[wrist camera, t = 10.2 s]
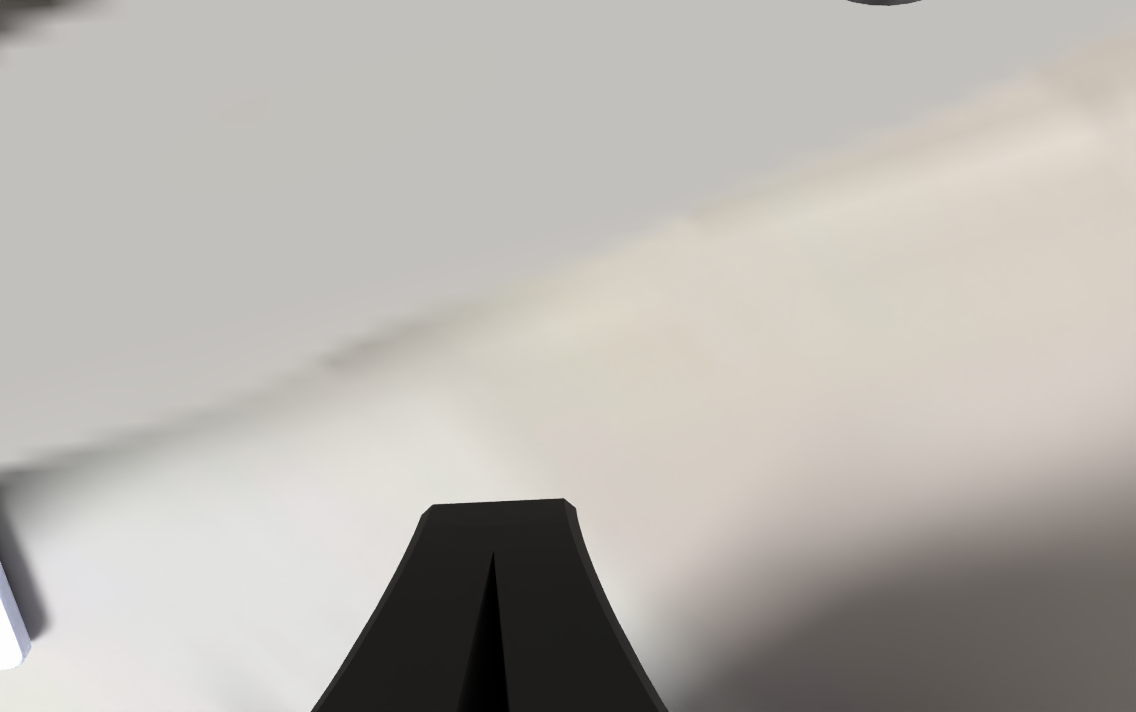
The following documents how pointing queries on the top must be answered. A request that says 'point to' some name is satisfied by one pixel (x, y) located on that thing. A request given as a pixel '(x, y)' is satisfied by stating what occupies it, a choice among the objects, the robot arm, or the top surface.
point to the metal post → (884, 2)
